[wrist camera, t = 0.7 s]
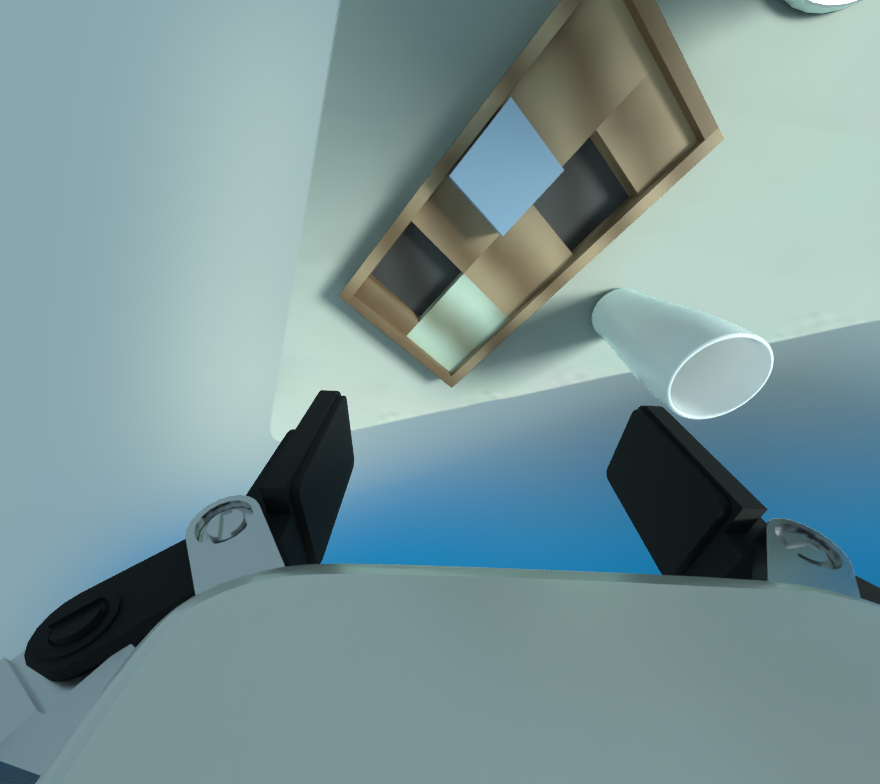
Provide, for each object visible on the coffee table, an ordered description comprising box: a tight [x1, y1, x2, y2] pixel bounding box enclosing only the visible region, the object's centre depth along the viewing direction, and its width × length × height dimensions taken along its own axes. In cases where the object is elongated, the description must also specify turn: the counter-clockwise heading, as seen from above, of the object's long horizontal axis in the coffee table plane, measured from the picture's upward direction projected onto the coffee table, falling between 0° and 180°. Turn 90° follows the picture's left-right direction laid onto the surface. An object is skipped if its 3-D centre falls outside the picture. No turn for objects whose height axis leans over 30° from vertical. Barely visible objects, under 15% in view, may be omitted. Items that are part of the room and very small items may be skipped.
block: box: [449, 97, 564, 236], centre depth 25 cm, size 6×6×3 cm
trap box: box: [339, 0, 724, 388], centre depth 29 cm, size 30×15×3 cm, turn 137°
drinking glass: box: [592, 288, 774, 419], centre depth 28 cm, size 7×7×15 cm
